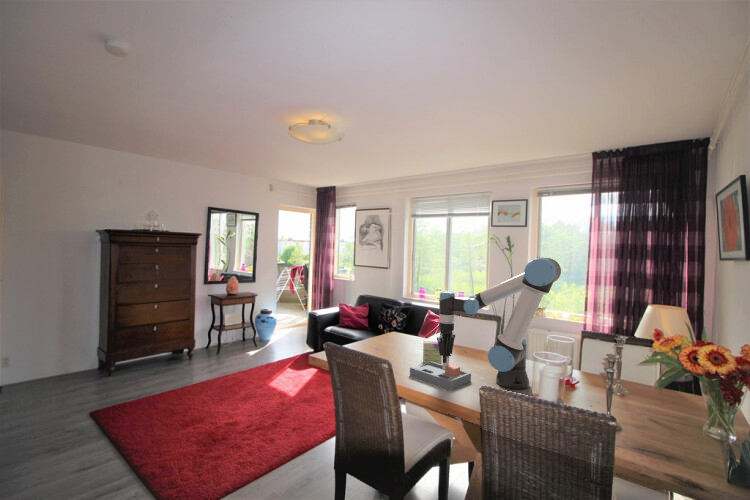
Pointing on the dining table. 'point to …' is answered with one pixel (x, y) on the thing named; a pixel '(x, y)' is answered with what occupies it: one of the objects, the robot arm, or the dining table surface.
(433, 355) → the box
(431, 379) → the box
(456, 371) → the block
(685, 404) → the dining table surface
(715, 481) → the dining table surface
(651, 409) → the dining table surface
